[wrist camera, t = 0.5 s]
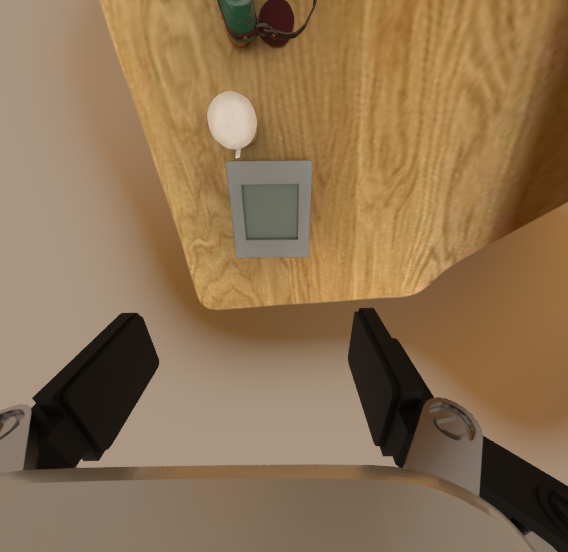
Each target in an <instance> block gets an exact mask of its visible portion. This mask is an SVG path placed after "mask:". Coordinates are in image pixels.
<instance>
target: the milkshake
mask: <svg viewBox="0 0 568 552" xmlns="http://www.w3.org/2000/svg"><path fill="white" fill-rule="evenodd" d="M207 119H208V124H209V128H210V131H211V134H212V135H213V137H214V138H215V139H216V140H217V141H218V142H219V143H220V144H221V145H222V146H224V147H226V148H228V149H236V155H235V158H240V153H241V148H243V147H245V146H248V145H250V144H251V143H253V142H254V141H255V140H256V137H257V134H258V129H257V119H256V114H255V110H254V108H253V106H252V104H251V103H250V101H249V100H248V99H247V98H246V97H244V96H243V95H241V94H239V93H237V92H235V91H226V92H222V93H220V94H219V95H217V96H216V97H215V98H214V99H213V101H212V102H211V104H210V106H209V108H208V113H207Z"/></svg>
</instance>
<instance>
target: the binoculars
mask: <svg viewBox="0 0 568 552" xmlns="http://www.w3.org/2000/svg"><path fill="white" fill-rule="evenodd" d="M217 1H218V5H219V8H220V11H221V14H222V15H221V18H222V19H223V20H224V23H225V27H226V31H227V35H228V38H229V39H230V41H231V42H232V44H234V45H235V46H237V47H242V46H244V45H246V44H247V43H248V42H249V41H251V40H252V39H253V38H254V37H255V34H258V35H261V36H262V37H263V38H264V39H265V40H266V41H267V42H268V43H270V44H271V45H274V46H282V45H284V44H286V43H287V42H288V40H289V39H290V38H296V37H297V36H298V35H299V34H300V33H301V32H302V31H303V30H304V29H305V27H306V25H307V23H308V20H309V18H310V16H311V14H312V12H313V10H314V8H315V5H316V0H314V1H313V8H312V10H311V12H310V14H309V16H308V19H307V21H306V23H305V24H304V25H303V26H302V27H301V28H300V29H299V30H297V31H296V32H292V30H293V25H294V16H293V12H292V9H291V7H290V5H289V4H288V3H287V2H286V1H285V0H268V1H267V2H266V3H265V4H264V5H263V6H262V8H261V10H260V14H259V22H258V23H257V19H256V14H255V7H254V0H217ZM219 2H220V3H219Z"/></svg>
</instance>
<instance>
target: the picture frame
mask: <svg viewBox="0 0 568 552" xmlns="http://www.w3.org/2000/svg"><path fill="white" fill-rule="evenodd" d="M226 169H227V177H228V186H229V194H230V203H231V212H232V220H233V229H234V237H235V246H236V255H237V258H250V257H308V255H309V230H310V206H311V181H312V160H276V161H228V162H226Z"/></svg>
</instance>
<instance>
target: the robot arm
mask: <svg viewBox="0 0 568 552" xmlns="http://www.w3.org/2000/svg"><path fill="white" fill-rule="evenodd" d="M348 362H349V366H350V369H351V372H352V375H353V379H354V382H355V385H356V388H357V391H358V395H359V397H360V401H361V404H362V407H363V410H364V413H365V417H366V420H367V423H368V426H369V429H370V432H371V435H372V439H373V442H374V444H375V445H376V446H380V449H381V451H382V455H383V456H393V458H394V461H395V464H396V465H397V466H399V467H389V466H375V465H226V466H225V465H222V466H159V467H157V466H156V467H104V468H77V464H78V463H79V461H80V460H81V458H82V459H83V461H99V460H100V458H101V456H102V455H103V453H104V451H105V450H107V449H109V448H110V446H111V445H112V443H113V442H114V440H115V438H116V437H117V435H118V433H119V432H120V430H121V428H122V427H123V425H124V423H125V422H126V420H127V418H128V417H129V415H130V413H131V412H132V410H133V408H134V407H135V405H136V403H137V402H138V400H139V398H140V397H141V395H142V393H143V391H144V390H145V388H146V387H147V385H148V383H149V382H150V380H151V378H152V377H153V375H154V373H155V371H156V369H157V368H158V366H159V358H158V356H157V354H156V351H155V348H154V345H153V343H152V340H151V338H150V335H149V332H148V330H147V327H146V325H145V322H144V319H143V318H142V317H141V316H139V314H138V313H121V314H120V315H119V316H118V317H117V318H116V319H115V320H114V321H113V322H111V323H110V324H109V325H108V326H107V327H106V328H105V329H104V330H103V331H102V332H101V333H100V334H99V335H98V336H97V337H96V338H95V339H94V340H93V341H92V342H91V343H90V344H88V346H86V347H85V348H84V349H83V350H82V351H81V352H80V353H79V354H78V355H77V356H76V357H75V358H74V359H73V360H72V361H71V362H70V363H69V364H67V366H65V367H64V368H63V369H62V370H61V371H60V372H59V373H58V374H57V375H56V376H55V377H54V378H53V379H52V380H51V381H50V382H49V383H48V384H47V385H46V386H44V387H43V388H42V389H41V390H40V391H39V392H38V393H37V394H36V395H35V396H34V397H33V398H32V399H33V400H34V401H35V402H36V404H35V405H34V406H33V407H32V408H31V407H29V406H28V405H16V406H12V407H9V408H6V409H3V410H1V411H0V552H568V486H567V485H565V484H563V483H561V482H560V481H558V480H556V479H555V478H553V477H551V476H550V475H548V474H546V473H545V472H543V471H541V470H540V469H538V468H536V467H535V466H533V465H531V464H530V463H528V462H526V461H525V460H523V459H521V458H519V457H518V456H516V455H515V454H513V453H511V452H510V451H508V450H506V449H505V448H503V447H501V446H499V445H498V444H496V443H494V442H493V441H491V440H489V439H487V438H486V437H484V436H483V434H482V429H481V427H480V425H479V423H478V422H477V420H476V419H475V418H474V417H473V415H472V414H471V413H469V412H468V411H467V410H466V409H465V408H464V407H462V406H460V405H459V404H457V403H455V402H453V401H450V400H448V399H444V398H439V397H438V398H434V397H433V395H432V393H431V392H430V390H429V389H428V387H427V386H426V384H425V383H424V381H423V379H422V377H421V376H420V374H419V373H418V371H417V370H416V368H415V367H414V365H413V363H412V362H411V360H410V358H409V357H408V355H407V354H406V352H405V351H404V349H403V347H402V346H401V344H400V343H399V341H398V340H397V339H395V338H391V336H390V334H389V333H388V331H387V329H386V328H385V326H384V324H383V323H382V321H381V319H380V318H379V316H378V314H377V313H376V311H375V310H374V308H360V309H359V311H358V312H355V313H354V319H353V326H352V333H351V339H350V347H349V354H348Z"/></svg>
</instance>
